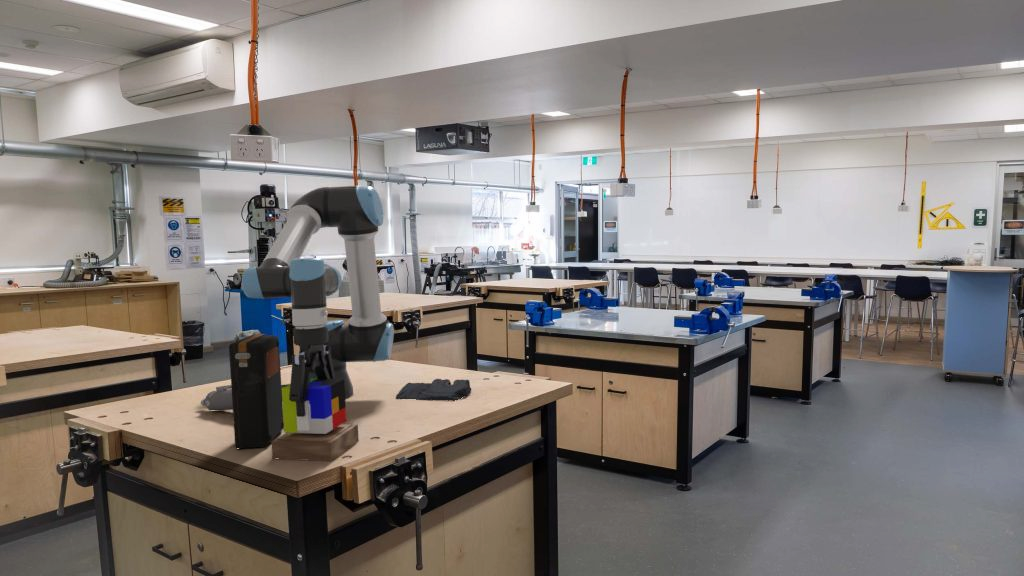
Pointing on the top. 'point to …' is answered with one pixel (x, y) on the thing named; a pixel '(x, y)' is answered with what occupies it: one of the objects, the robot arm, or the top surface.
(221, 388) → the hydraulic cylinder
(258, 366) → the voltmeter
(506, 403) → the top surface
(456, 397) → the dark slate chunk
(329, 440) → the plinth
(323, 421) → the puzzle toy
